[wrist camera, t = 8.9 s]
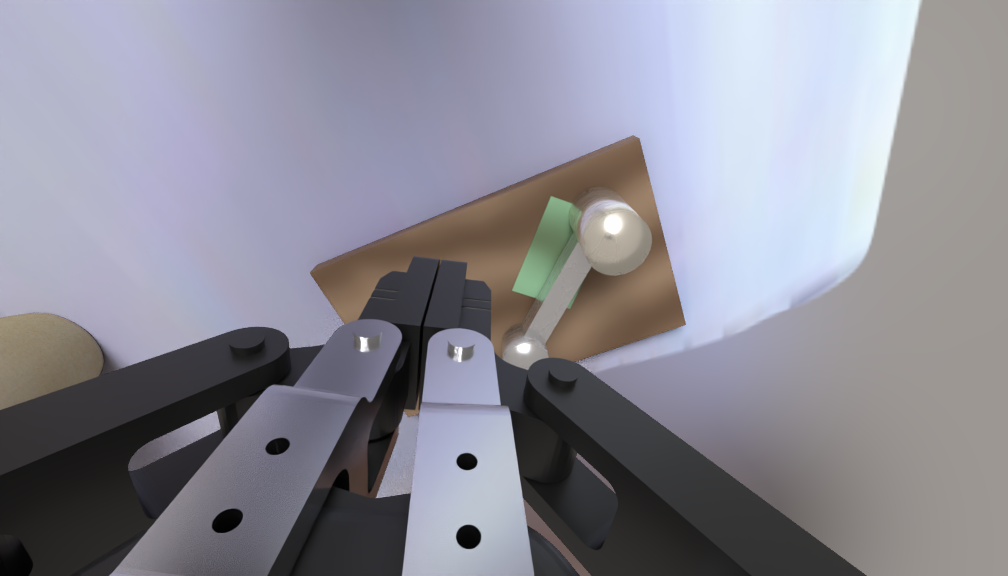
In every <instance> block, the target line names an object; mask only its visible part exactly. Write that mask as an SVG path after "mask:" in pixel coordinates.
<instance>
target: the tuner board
mask: <svg viewBox="0 0 1008 576" xmlns="http://www.w3.org/2000/svg"><path fill="white" fill-rule="evenodd" d="M593 187H606V188H609V189H612V190H613V191H615V192H616V193H617V194H618V195H619V196H620V197H621V198H622V199H623V200H624V201H625V202H626V203H627V204H628V205H629V206H630V207H631V208H632V209H633V210H634V211H635V212H636V213H637V214H638V215H639V216H640V217H641V218H642V219H643V220H644V221H645V222H646V224H647V225H648V227H649V229H650V231H651V235H652V245H651V249H650V252H649V254H648V256H647V258H646V259H645V260H644V262H643V263H642V264H641V265H640V266H638V267H637V268H636V269H634V270H633V271H631V272H628V273H626V274H622V275H606V274H602V273H600V272H598V271H596V270H595V269H594V268H593V267H591V268H590V270H589V272H588V273H587V275H586V277H585V278H584V280H583V282H582V283H581V285H580V287H579V288H578V290H577V292H576V293H575V295H574V297H573V298H572V300H571V302H570V303H569V305H568V307H567V308H566V310H565V311H564V313H563V315H562V316H561V318H560V320H559V321H558V323H557V325H556V326H555V328H554V330H553V331H552V333H551V335H550V336H549V338H548V340H547V341H546V346H547V351H548V357H549V358H561V359H566V360H570V361H572V362H576V361H579V360H582V359H585V358H588V357H591V356H594V355H597V354H600V353H603V352H606V351H609V350H612V349H615V348H618V347H621V346H624V345H627V344H630V343H633V342H636V341H639V340H642V339H645V338H648V337H651V336H654V335H657V334H660V333H663V332H666V331H669V330H672V329H675V328H678V327H681V326H684V325H686V323H685V319H684V315H683V311H682V307H681V303H680V299H679V295H678V291H677V287H676V283H675V279H674V275H673V271H672V267H671V263H670V259H669V255H668V251H667V247H666V243H665V239H664V235H663V231H662V227H661V223H660V219H659V215H658V211H657V207H656V203H655V199H654V195H653V191H652V187H651V183H650V179H649V175H648V171H647V167H646V163H645V159H644V155H643V151H642V147H641V143H640V139H639V138H637V137H635V136H631V137H628V138H626V139H623V140H621V141H618V142H616V143H614V144H611V145H609V146H606V147H604V148H601V149H599V150H596V151H594V152H592V153H589V154H587V155H584V156H582V157H579V158H577V159H574V160H572V161H570V162H567V163H565V164H562V165H560V166H557V167H555V168H553V169H550V170H548V171H545V172H543V173H540V174H538V175H535V176H533V177H531V178H528V179H526V180H523V181H521V182H518V183H516V184H513V185H511V186H509V187H506V188H504V189H501V190H499V191H496V192H494V193H492V194H489V195H487V196H484V197H482V198H479V199H477V200H474V201H472V202H470V203H467V204H465V205H462V206H460V207H457V208H455V209H453V210H450V211H448V212H445V213H443V214H440V215H438V216H435V217H433V218H431V219H428V220H426V221H423V222H421V223H418V224H416V225H413V226H411V227H409V228H406V229H404V230H401V231H399V232H396V233H394V234H392V235H389V236H387V237H384V238H382V239H379V240H377V241H374V242H372V243H370V244H367V245H365V246H362V247H360V248H357V249H355V250H352V251H350V252H348V253H345V254H343V255H340V256H338V257H335V258H333V259H331V260H328V261H326V262H323V263H321V264H318V265H317V266H316V267H315V268H314V269H313V270H312V271H311V272H310V274H311V275H312V277H313V278H314V280H315V281H316V283H317V284H318V286H319V287H320V289H321V290H322V292H323V293H324V295H325V296H326V297H327V299H328V300H329V302H330V303H331V305H332V306H333V308H334V309H335V311H336V312H337V314H338V315H339V317H340V318H341V320H342V321H343V322H344V324H347V323H349V322H352V321H356V320H358V318H359V317H360V315H361V313H362V311H363V309H364V307H365V306H366V304H367V302H368V300H369V298H371V294H372V293H373V291H374V290H375V287H376V285H377V283H378V281H379V280H380V278H381V277H383V276H385V275H386V274H388V273H390V272H391V271H399V272H407V270H408V268H409V265H410V263H411V261H412V258H413V256H417V257H425V258H434V259H440V264H441V260H442V259H443V260H451V261H460V262H467V271H466V279H469V280H478V281H484V282H485V283H486V284H487V286H488V287H489V288H490V290H491V343H492V345H493V348H494V352H495V353H496V354H497V355H498V356H499V357H500V358H501V359H502V338H503V335H504V334H505V332H506V331H507V330H508V329H509V328H510V327H512V326H514V325H517V324H521V323H523V321H524V319H525V317H526V316H527V314H528V312H529V310H530V308H531V307H532V305H533V303H534V301H535V299H536V298H537V296H538V294H539V292H540V291H541V289H542V287H543V285H544V283H545V282H546V280H547V278H548V276H549V274H550V273H551V271H552V269H553V267H554V266H555V264H556V262H557V260H558V258H559V257H560V255H561V253H562V251H563V249H564V248H565V246H566V244H567V242H568V241H569V239H570V237H571V235H572V233H573V230H572V227H571V225H570V221H569V212H570V208H571V205H572V203H573V202H574V200H575V199H576V197H577V196H578V195H579V194H581V193H582V192H584V191H585V190H587V189H590V188H593ZM418 407H419V396H418V401H417V405H416V409H415V410H408V409H404V412H405V414H406V415H407V416H408V417H410V416H413V415H416V414H419V413H420V410H418Z"/></svg>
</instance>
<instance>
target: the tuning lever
mask: <svg viewBox="0 0 1008 576" xmlns="http://www.w3.org/2000/svg"><path fill="white" fill-rule="evenodd" d="M569 221H570V225H571V227H572V230H573V233H572V235H571V237H570V239H569V241H568V242H567V244H566V246H565V248H564V249H563V251H562V253H561V255H560V257H559V258H558V260H557V262H556V264H555V266H554V267H553V269H552V271H551V273H550V274H549V276H548V278H547V280H546V282H545V283H544V285H543V287H542V289H541V291H540V292H539V294H538V296H537V298H536V299H535V301H534V303H533V305H532V307H531V308H530V310H529V312H528V314H527V316H526V317H525V319H524V321H523V323H521V324H517V325H514V326H512V327H510V328H509V329H508V330H507V331H506V332H505V334H504V335H503V338H502V359H503V360H504V361H506V362H508V363H510V364H512V365H514V366H517V367H520V368H523V369H526V370H529V367H530V366H531V365H532V364H533V363H534V362H536V361H538V360H540V359H544V358H549V357H548V351H547V346H546V341H547V340H548V338H549V336H550V335H551V333H552V331H553V330H554V328H555V326H556V325H557V323H558V321H559V320H560V318H561V316H562V315H563V313H564V311H565V310H566V308H567V307H568V305H569V303H570V302H571V300H572V298H573V297H574V295H575V293H576V292H577V290H578V288H579V287H580V285H581V283H582V282H583V280H584V278H585V277H586V275H587V273H588V272H589V270H590V268H591V267H593V268H594V269H595V270H596V271H598V272H600V273H602V274H606V275H622V274H626V273H628V272H631V271H633V270H634V269H636V268H637V267H638V266H640V265H641V264H642V263H643V262H644V260H645V259H646V258H647V256H648V254H649V252H650V249H651V245H652V235H651V231H650V229H649V227H648V225H647V224H646V222H645V221H644V220H643V219H642V218H641V217H640V216H639V215H638V214H637V213H636V212H635V211H634V210H633V209H632V208H631V207H630V206H629V205H628V204H627V203H626V202H625V201H624V200H623V199H622V198H621V197H620V196H619V195H618V194H617V193H616V192H615V191H613V190H612V189H609V188H606V187H593V188H590V189H587V190H585V191H584V192H582V193H581V194H579V195H578V196H577V197H576V199H575V200H574V202H573V203H572V205H571V208H570V212H569Z"/></svg>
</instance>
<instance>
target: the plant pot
mask: <svg viewBox="0 0 1008 576" xmlns="http://www.w3.org/2000/svg"><path fill="white" fill-rule="evenodd" d="M103 364H104V359H103V354H102V351H101V349H100V347H99V345H98V344H97V343H96V341H95V340H94V338H93V337H92V336H91V335H90V334H89V333H88V332H86V331H85V330H84V329H82V328H81V327H80V326H78V325H76V324H75V323H73V322H71V321H69V320H67V319H65V318H62V317H59V316H56V315H53V314H47V313H28V314H21V315H14V316H8V317H2V318H0V410H2V409H5V408H8V407H11V406H14V405H16V404H19V403H22V402H25V401H28V400H31V399H34V398H37V397H40V396H43V395H46V394H49V393H52V392H55V391H57V390H60V389H63V388H66V387H69V386H72V385H75V384H78V383H81V382H84V381H87V380H90V379H93V378H96V377H98V376H99V375H100V373H101V371H102V368H103Z"/></svg>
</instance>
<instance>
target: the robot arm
mask: <svg viewBox="0 0 1008 576" xmlns="http://www.w3.org/2000/svg"><path fill="white" fill-rule="evenodd" d="M466 271H467V262H460V261H451V260H443V259H442V260H441V264H440V259H434V258H425V257H417V256H413V258H412V261H411V263H410V265H409V268H408V270H407V272H399V271H391V272H390V273H388V274H386V275H385V276H383V277H381V278H380V280H379V281H378V283H377V285H376V287H375V290H374V291H373V293H372V294H371V298H369V300H368V302H367V304H366V306H365V307H364V309H363V311H362V313H361V315H360V317H359V318H358V320H356V321H352V322H349V323H347V324H344V325H343V326H341V327H339V328H338V329H337V330H336V331H335V332H334V333H333V335H332V336H331V337H330V339H329V340H328V341H327V343H326V344H325V345H320V346H313V347H302V348H291V349H289V341H288V338H287V336H286V335H285V334H284V333H282V332H281V331H279V330H276V329H273V328H267V327H248V328H242V329H237V330H234V331H230V332H227V333H224V334H221V335H219V336H216V337H213V338H210V339H207V340H204V341H201V342H198V343H195V344H192V345H189V346H186V347H183V348H180V349H178V350H175V351H172V352H169V353H166V354H163V355H160V356H157V357H154V358H151V359H148V360H145V361H142V362H139V363H137V364H134V365H131V366H128V367H125V368H122V369H119V370H116V371H113V372H110V373H107V374H104V375H101V376H98V377H96V378H93V379H90V380H87V381H84V382H81V383H78V384H75V385H72V386H69V387H66V388H63V389H60V390H57V391H55V392H52V393H49V394H46V395H43V396H40V397H37V398H34V399H31V400H28V401H25V402H22V403H19V404H16V405H14V406H11V407H8V408H5V409H2V410H0V576H579V574H578V573H577V572H576V571H575V569H574V568H573V567H572V566H571V564H570V563H569V562H568V561H567V559H565V557H564V556H563V555H562V554H561V552H560V551H559V550H557V548H555V547H554V546H553V545H552V544H551V543H550V542H549V541H548V540H547V539H546V538H544V537H543V536H542V535H541V534H539V533H538V532H537V531H535V530H534V529H532V528H530V527H529V526H527V523H526V517H525V509H524V503H523V498H524V499H525V500H526V502H527V503H528V504H529V505H530V506H531V507H532V508H533V510H534V511H535V512H536V513H537V514H538V515H539V516H540V517H541V518H542V520H543V521H544V522H545V523H546V524H547V525H548V526H549V528H550V529H551V530H552V531H553V532H554V533H555V535H556V536H557V537H558V538H559V539H560V540H561V541H562V542H563V544H564V545H565V546H566V547H567V548H568V549H569V551H570V552H571V553H572V554H573V555H574V556H575V557H576V559H577V560H578V561H579V562H580V563H581V564H582V565H583V566H584V568H585V569H586V570H587V571H588V572H589V573H590V574H591V576H866V575H865V574H864V573H862V572H861V571H860V570H858V569H857V568H856V567H854V566H853V565H851V564H850V563H849V562H847V561H846V560H845V559H843V558H842V557H841V556H839V555H838V554H837V553H835V552H834V551H832V550H831V549H830V548H828V547H827V546H826V545H824V544H823V543H821V542H820V541H819V540H817V539H816V538H815V537H813V536H812V535H811V534H809V533H808V532H807V531H805V530H804V529H802V528H801V527H800V526H798V525H797V524H796V523H794V522H793V521H792V520H790V519H789V518H787V517H786V516H785V515H783V514H782V513H780V512H779V511H778V510H777V509H775V508H774V507H773V506H771V505H770V504H768V503H767V502H766V501H764V500H763V499H762V498H760V497H759V496H758V495H756V494H755V493H753V492H752V491H751V490H749V489H748V488H747V487H745V486H744V485H743V484H741V483H740V482H739V481H737V480H736V479H735V478H733V477H732V476H731V475H729V474H728V473H726V472H725V471H724V470H722V469H721V468H720V467H718V466H717V465H716V464H714V463H713V462H711V461H710V460H709V459H707V458H706V457H705V456H703V455H702V454H700V453H699V452H698V451H696V450H695V449H694V448H692V447H691V446H690V445H688V444H687V443H686V442H684V441H683V440H682V439H680V438H679V437H678V436H676V435H675V434H673V433H672V432H671V431H669V430H668V429H667V428H665V427H664V426H663V425H661V424H660V423H658V422H657V421H656V420H654V419H653V418H652V417H650V416H649V415H648V414H646V413H645V412H643V411H642V410H641V409H639V408H638V407H637V406H635V405H634V404H633V403H631V402H630V401H629V400H627V399H626V398H625V397H623V396H622V395H620V394H619V393H618V392H616V391H615V390H614V389H612V388H611V387H610V386H608V385H607V384H605V383H604V382H603V381H601V380H600V379H598V378H597V377H596V376H595V375H593V374H592V373H591V372H589V371H588V370H586V369H585V368H584V367H582V366H581V365H579V364H577V363H575V362H572V361H570V360H566V359H561V358H544V359H540V360H538V361H536V362H534V363H533V364H532V365H531V366H530V367H529V370H526V369H523V368H520V367H517V366H514V365H512V364H510V363H508V362H506V361H504V360H503V359H501V358H500V357H499V356H498V355H497V354H496V353H495V352H494V348H493V345H492V343H491V290H490V288H489V287H488V286H487V284H486V283H485V282H484V281H478V280H469V279H466ZM418 396H419V407H418V410H420V415H419V424H418V434H417V443H416V452H415V461H414V471H413V480H412V489H411V493H410V494H403V495H396V496H390V497H383V498H376V496H377V493H378V490H379V488H380V485H381V482H382V479H383V477H384V474H385V471H386V468H387V466H388V463H389V460H390V457H391V455H392V452H393V449H394V446H395V444H396V441H397V438H398V430H399V424H400V422H401V419H402V415H403V412H404V409H408V410H415V409H416V405H417V401H418ZM215 411H217V414H218V418H219V423H220V427H221V429H220V430H218V431H216V432H214V433H212V434H210V435H208V436H206V437H204V438H202V439H200V440H198V441H196V442H194V443H192V444H190V445H188V446H186V447H184V448H182V449H180V450H178V451H175V452H173V453H171V454H169V455H167V456H165V457H163V458H161V459H159V460H157V461H155V462H153V463H151V464H149V465H147V466H145V467H143V468H141V469H138V470H134V471H128V464H129V461H130V459H131V457H132V456H133V455H134V453H135V452H136V451H137V450H138V449H139V448H141V447H142V446H143V445H145V444H146V443H148V442H150V441H152V440H154V439H156V438H158V437H161V436H163V435H165V434H167V433H169V432H171V431H174V430H176V429H178V428H180V427H182V426H184V425H187V424H189V423H191V422H193V421H195V420H197V419H200V418H202V417H204V416H206V415H208V414H210V413H213V412H215ZM577 453H578V454H580V455H581V456H582V457H583V458H584V459H585V460H586V461H587V462H588V463H589V464H591V465H592V466H593V467H594V468H595V469H596V470H597V471H598V472H599V473H600V474H601V475H602V476H603V477H605V478H606V479H607V480H608V481H609V483H610V484H611V485H612V487H613V489H614V491H615V492H616V494H615V493H614V492H613V491H612V490H611V489H610V488H608V487H607V486H606V485H605V484H604V483H603V482H602V481H601V480H600V479H599V478H597V476H596V475H595V474H593V473H592V472H591V471H590V470H589V469H588V468H587V467H586V466H585V465H584V464H583V463H582V462H581V461H579V460H578V459H577V458H576V455H577Z"/></svg>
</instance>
